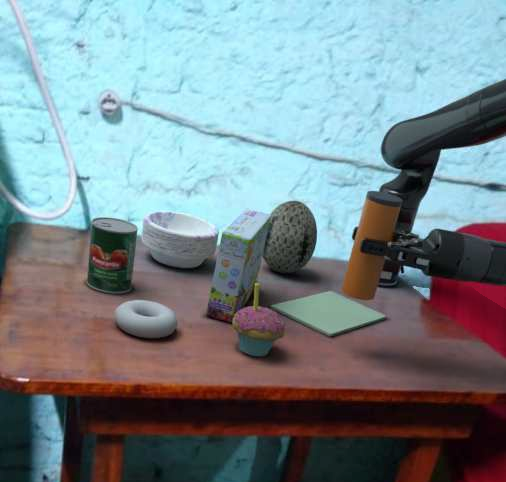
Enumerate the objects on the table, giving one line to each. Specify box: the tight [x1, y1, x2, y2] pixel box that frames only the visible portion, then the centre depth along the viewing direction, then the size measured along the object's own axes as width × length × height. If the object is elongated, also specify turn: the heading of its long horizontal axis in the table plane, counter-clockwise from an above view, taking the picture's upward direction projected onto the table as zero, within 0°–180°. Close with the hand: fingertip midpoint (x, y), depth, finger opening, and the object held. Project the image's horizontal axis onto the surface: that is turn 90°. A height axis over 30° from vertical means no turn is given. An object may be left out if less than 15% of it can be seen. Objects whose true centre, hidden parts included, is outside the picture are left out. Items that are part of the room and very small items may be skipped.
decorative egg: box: [262, 200, 318, 274], centre depth 155 cm, size 12×12×15 cm
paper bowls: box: [140, 210, 220, 269], centre depth 150 cm, size 15×15×8 cm
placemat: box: [269, 290, 387, 338], centre depth 142 cm, size 20×14×1 cm
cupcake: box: [231, 278, 286, 357], centre depth 117 cm, size 9×8×12 cm
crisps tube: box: [341, 190, 402, 301], centre depth 119 cm, size 6×6×16 cm
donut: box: [114, 299, 178, 339], centre depth 118 cm, size 10×4×10 cm
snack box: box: [205, 207, 272, 324], centre depth 133 cm, size 21×6×15 cm, turn 168°
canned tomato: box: [86, 216, 139, 295], centre depth 129 cm, size 8×8×11 cm
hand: (357, 239), depth 118 cm, fingers closed on crisps tube, 5 cm apart
